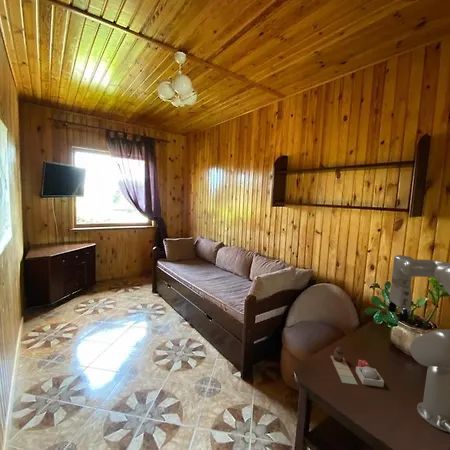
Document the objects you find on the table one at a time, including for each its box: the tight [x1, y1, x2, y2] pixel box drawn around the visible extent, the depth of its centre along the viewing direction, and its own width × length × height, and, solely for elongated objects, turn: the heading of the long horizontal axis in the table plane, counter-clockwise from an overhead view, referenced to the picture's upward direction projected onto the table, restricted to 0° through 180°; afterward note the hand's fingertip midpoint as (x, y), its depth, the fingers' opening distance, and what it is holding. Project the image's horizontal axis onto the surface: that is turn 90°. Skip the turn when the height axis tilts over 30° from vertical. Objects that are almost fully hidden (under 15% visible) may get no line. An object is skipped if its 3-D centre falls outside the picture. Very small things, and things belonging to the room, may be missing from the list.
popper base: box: [355, 359, 385, 388], centre depth 118 cm, size 15×9×4 cm, turn 172°
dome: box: [362, 366, 378, 380], centre depth 115 cm, size 6×6×4 cm
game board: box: [330, 355, 359, 386], centre depth 122 cm, size 20×7×1 cm, turn 172°
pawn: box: [333, 346, 344, 363], centre depth 128 cm, size 4×4×7 cm
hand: (397, 316), depth 119 cm, fingers open, 9 cm apart
